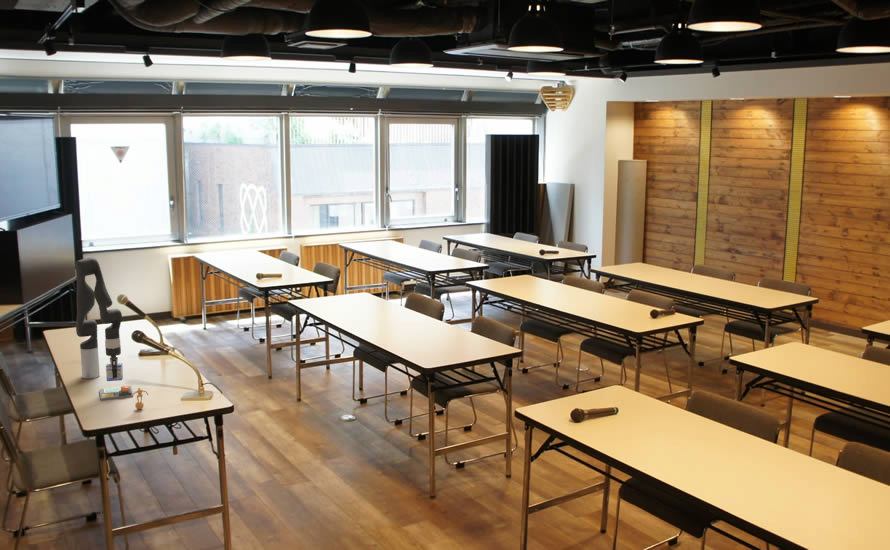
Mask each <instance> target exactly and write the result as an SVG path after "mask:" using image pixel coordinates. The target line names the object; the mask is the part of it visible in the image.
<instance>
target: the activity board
mask: <svg viewBox="0 0 890 550" xmlns="http://www.w3.org/2000/svg"><path fill="white" fill-rule="evenodd" d="M129 386H130V390H129V391H126V392H123V391H121V387H122V386H117V387H116V386H115V387H106V388H100V389H99V398H100V401H107V400H108V401H109V400H117V399H125V398H131V396H132V395H133V393H134V392H133V387H132V385H129ZM132 397H134V395H133V396H132Z"/></svg>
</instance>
